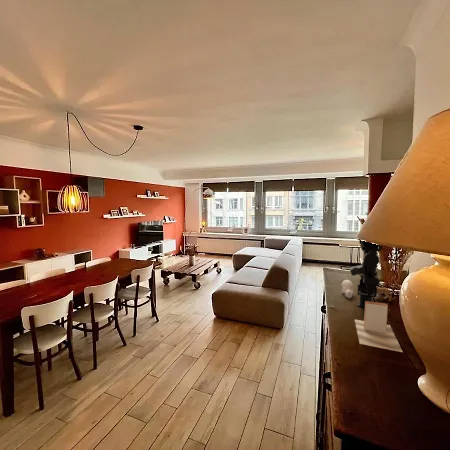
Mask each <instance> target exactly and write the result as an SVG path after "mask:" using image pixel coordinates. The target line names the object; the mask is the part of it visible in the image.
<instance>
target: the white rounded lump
mask: <svg viewBox="0 0 450 450" xmlns="http://www.w3.org/2000/svg"><path fill="white" fill-rule="evenodd" d="M353 286H354V284H353V282H352V281H351V280H349V279H344V280H343V281H342V282H341V294H342V293H344V296H345V297H346V298H347V299H350V298H351V299H352V297H353V293H354V288H353Z"/></svg>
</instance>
